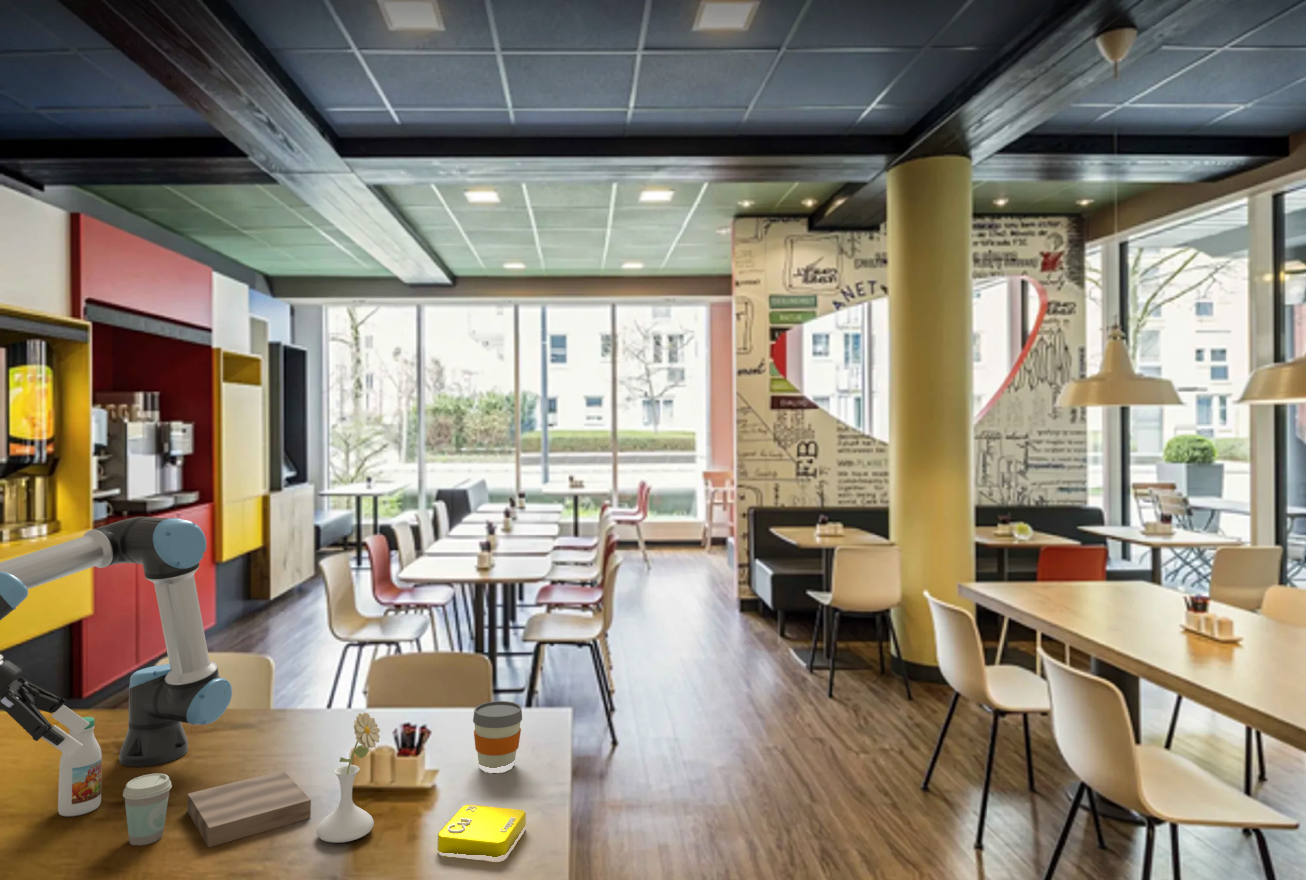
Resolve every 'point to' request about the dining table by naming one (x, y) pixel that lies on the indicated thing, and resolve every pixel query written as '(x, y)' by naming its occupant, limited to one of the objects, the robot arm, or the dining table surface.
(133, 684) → the robot arm
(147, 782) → the coffee cup
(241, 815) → the walnut base
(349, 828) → the flower in vase
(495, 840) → the element tile
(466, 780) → the dining table surface
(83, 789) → the milk bottle
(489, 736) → the reusable coffee cup
